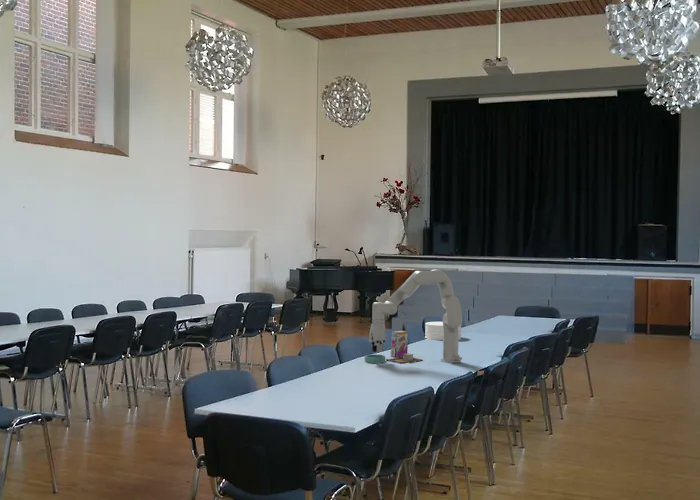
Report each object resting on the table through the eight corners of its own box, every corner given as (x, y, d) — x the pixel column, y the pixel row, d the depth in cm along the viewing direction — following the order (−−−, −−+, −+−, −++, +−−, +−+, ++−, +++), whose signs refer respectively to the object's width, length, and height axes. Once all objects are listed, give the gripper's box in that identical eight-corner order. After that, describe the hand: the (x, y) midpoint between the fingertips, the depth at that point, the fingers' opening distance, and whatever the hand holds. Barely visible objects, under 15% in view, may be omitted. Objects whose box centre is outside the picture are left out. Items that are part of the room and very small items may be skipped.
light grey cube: (382, 351, 468) (382, 344, 468) (377, 352, 465) (377, 344, 465) (377, 350, 471) (377, 343, 471) (372, 351, 468) (372, 344, 468)
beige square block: (413, 361, 470) (413, 354, 470) (408, 362, 467) (408, 354, 467) (408, 360, 473) (408, 353, 473) (403, 361, 470) (403, 353, 470)
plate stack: (442, 335, 607) (442, 320, 607) (468, 338, 586) (468, 324, 586) (417, 337, 589) (417, 323, 589) (444, 341, 568) (444, 326, 568)
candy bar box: (395, 357, 486) (396, 332, 486) (390, 356, 490) (390, 331, 490) (408, 356, 494) (408, 331, 493) (402, 355, 497) (403, 330, 497)
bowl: (388, 362, 469) (389, 356, 469) (374, 363, 461) (374, 358, 461) (375, 359, 479) (375, 353, 479) (360, 361, 471) (360, 355, 471)
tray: (422, 361, 473) (422, 359, 473) (401, 364, 461) (401, 362, 461) (406, 358, 484) (406, 356, 484) (386, 361, 472) (386, 359, 472)
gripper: (383, 320, 476) (383, 349, 476) (363, 322, 465) (363, 351, 465) (392, 321, 470) (391, 351, 470) (372, 323, 459) (371, 353, 460)
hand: (377, 351), depth 468 cm, fingers closed on light grey cube, 4 cm apart
